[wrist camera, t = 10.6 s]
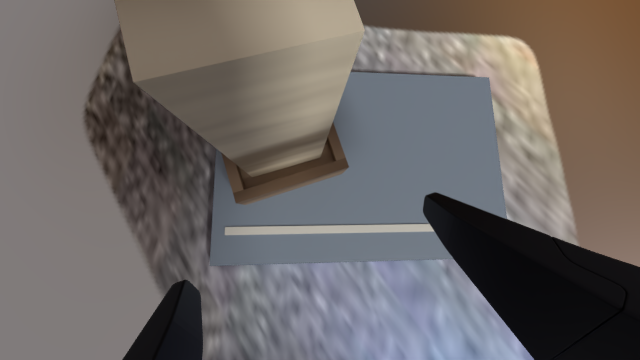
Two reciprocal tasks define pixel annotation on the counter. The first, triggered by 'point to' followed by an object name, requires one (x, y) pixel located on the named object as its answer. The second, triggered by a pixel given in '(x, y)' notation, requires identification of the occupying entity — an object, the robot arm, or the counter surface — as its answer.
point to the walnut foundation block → (287, 174)
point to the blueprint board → (374, 178)
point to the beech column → (246, 71)
